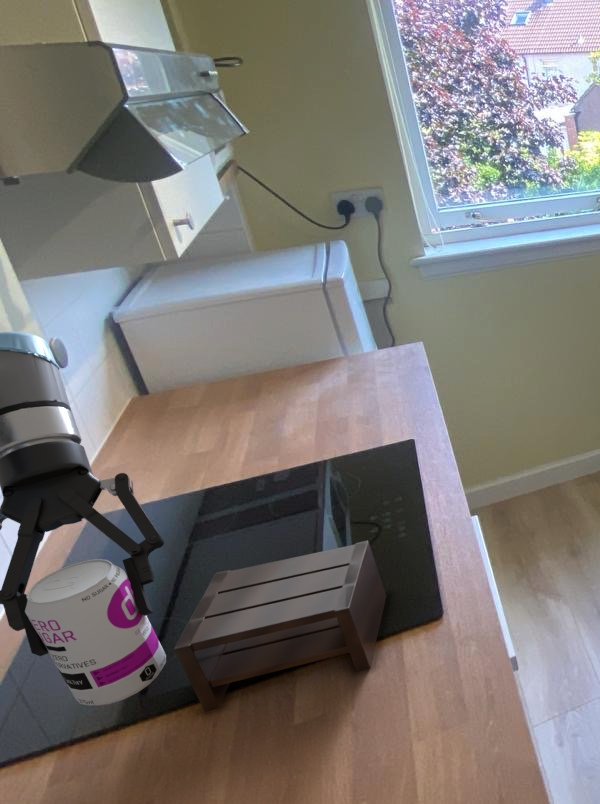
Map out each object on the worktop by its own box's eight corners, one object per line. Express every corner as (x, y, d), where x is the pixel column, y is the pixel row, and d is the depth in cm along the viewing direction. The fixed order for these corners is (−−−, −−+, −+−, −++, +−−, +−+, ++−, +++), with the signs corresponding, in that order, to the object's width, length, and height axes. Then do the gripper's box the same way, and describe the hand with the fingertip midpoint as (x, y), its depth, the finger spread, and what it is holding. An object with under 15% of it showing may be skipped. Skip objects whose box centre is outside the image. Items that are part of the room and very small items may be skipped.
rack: (204, 711, 88) (173, 649, 84) (241, 630, 100) (215, 572, 96) (370, 668, 94) (348, 608, 90) (386, 596, 106) (368, 540, 102)
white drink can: (180, 646, 91) (133, 548, 85) (150, 698, 84) (96, 595, 78) (100, 664, 88) (46, 564, 82) (62, 719, 81) (0, 615, 75)
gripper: (159, 434, 96) (215, 593, 91) (-77, 498, 83) (-25, 687, 78) (146, 412, 90) (205, 581, 85) (-110, 477, 77) (-56, 680, 73)
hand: (95, 631), depth 82 cm, fingers closed on white drink can, 8 cm apart
